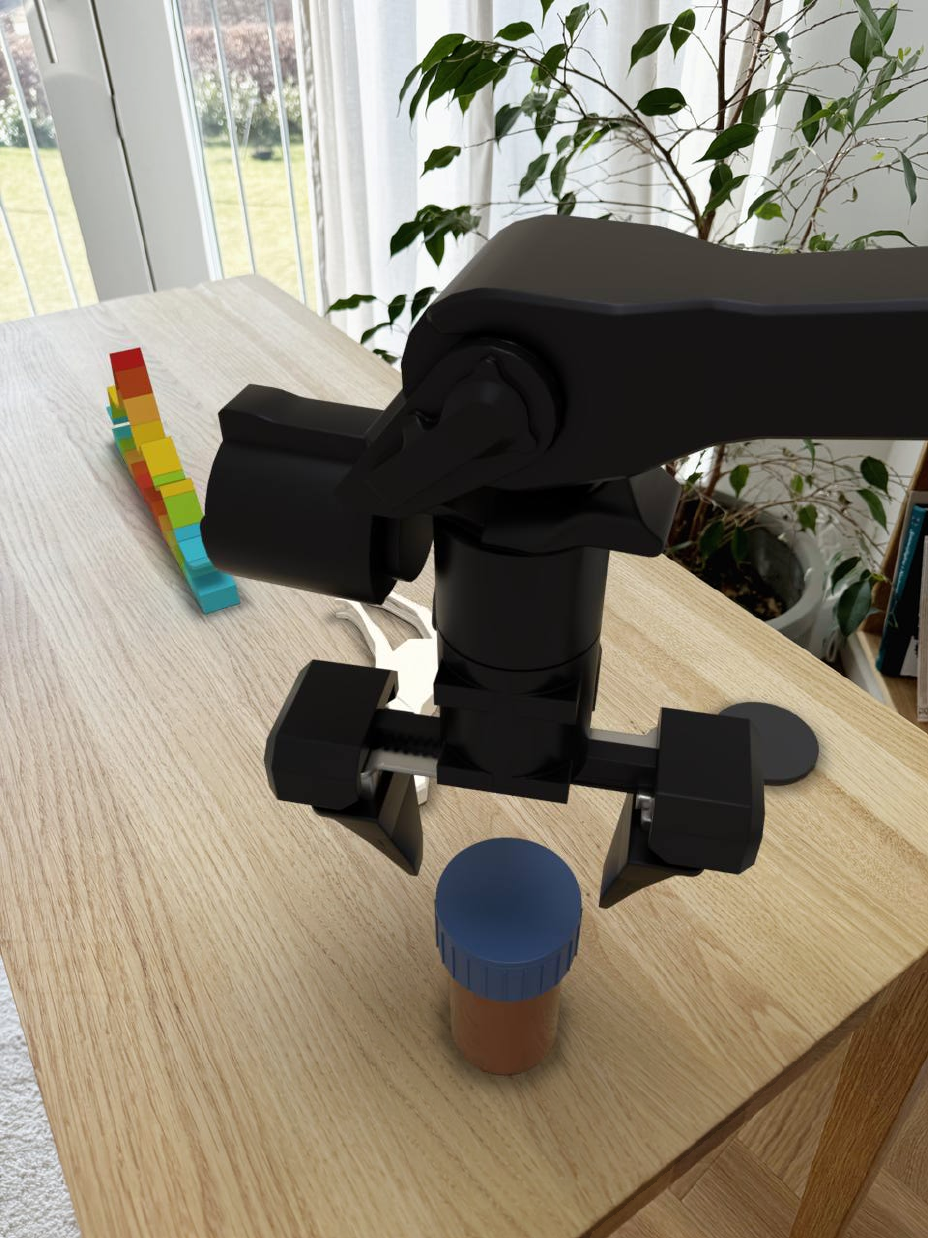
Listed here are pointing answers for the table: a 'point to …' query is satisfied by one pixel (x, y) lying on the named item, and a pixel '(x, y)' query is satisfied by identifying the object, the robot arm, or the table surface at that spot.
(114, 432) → the chart
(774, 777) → the coaster
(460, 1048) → the jar
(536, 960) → the lid
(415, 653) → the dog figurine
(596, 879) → the table surface
